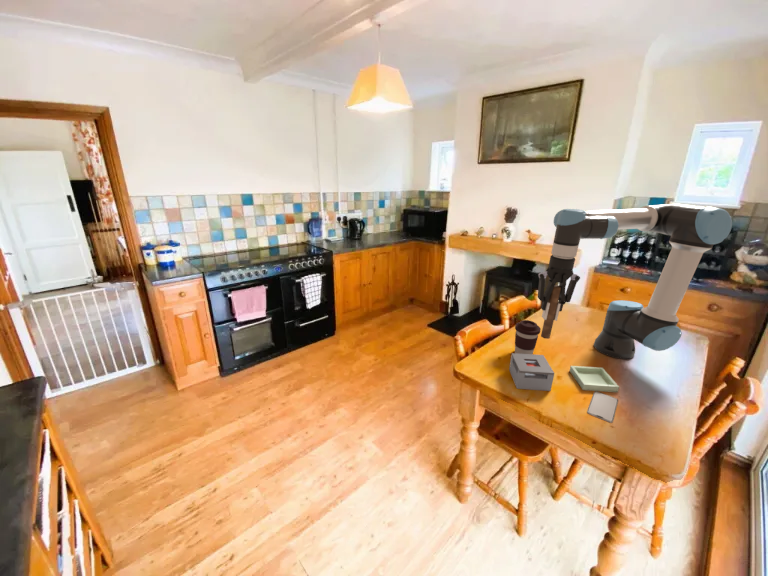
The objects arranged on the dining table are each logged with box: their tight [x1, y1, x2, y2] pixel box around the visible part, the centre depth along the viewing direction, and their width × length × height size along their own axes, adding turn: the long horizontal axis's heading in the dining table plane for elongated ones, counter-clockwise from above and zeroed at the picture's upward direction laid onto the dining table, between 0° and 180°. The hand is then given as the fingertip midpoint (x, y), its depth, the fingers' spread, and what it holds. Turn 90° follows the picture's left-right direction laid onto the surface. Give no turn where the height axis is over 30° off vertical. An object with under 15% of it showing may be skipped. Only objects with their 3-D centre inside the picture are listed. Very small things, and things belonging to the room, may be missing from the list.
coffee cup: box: [514, 319, 542, 354], centre depth 140 cm, size 10×10×15 cm
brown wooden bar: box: [540, 284, 561, 340], centre depth 117 cm, size 3×3×20 cm
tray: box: [569, 365, 620, 393], centre depth 124 cm, size 12×12×2 cm
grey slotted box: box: [508, 352, 555, 392], centre depth 124 cm, size 12×12×8 cm
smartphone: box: [586, 391, 619, 424], centre depth 111 cm, size 7×1×15 cm
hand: (549, 318), depth 117 cm, fingers closed on brown wooden bar, 3 cm apart
